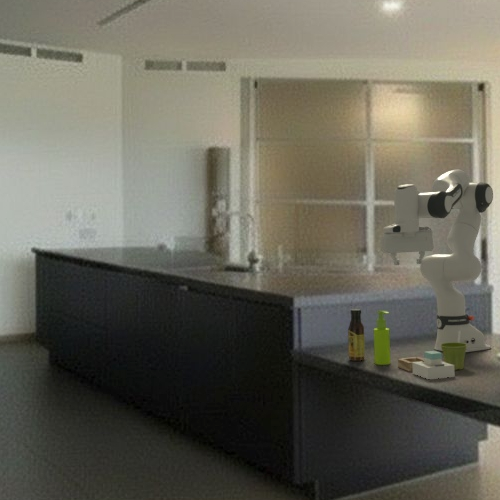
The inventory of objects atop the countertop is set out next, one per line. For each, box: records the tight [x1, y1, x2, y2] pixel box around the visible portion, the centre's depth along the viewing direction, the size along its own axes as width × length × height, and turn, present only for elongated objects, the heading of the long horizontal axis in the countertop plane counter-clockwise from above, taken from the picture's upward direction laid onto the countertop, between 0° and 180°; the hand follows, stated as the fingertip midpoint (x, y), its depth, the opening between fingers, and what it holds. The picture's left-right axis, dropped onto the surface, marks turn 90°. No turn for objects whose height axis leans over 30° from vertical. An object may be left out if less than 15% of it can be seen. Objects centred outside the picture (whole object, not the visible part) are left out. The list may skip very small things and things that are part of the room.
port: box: [412, 360, 456, 380], centre depth 261 cm, size 10×11×4 cm
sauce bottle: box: [347, 308, 366, 362], centre depth 294 cm, size 6×6×20 cm
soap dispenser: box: [373, 310, 391, 366], centre depth 285 cm, size 6×7×20 cm
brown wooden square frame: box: [397, 356, 424, 372], centre depth 274 cm, size 9×10×3 cm
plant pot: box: [440, 343, 467, 371], centre depth 271 cm, size 9×9×9 cm
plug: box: [423, 350, 443, 366], centre depth 261 cm, size 4×5×8 cm
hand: (408, 264), depth 284 cm, fingers open, 8 cm apart
